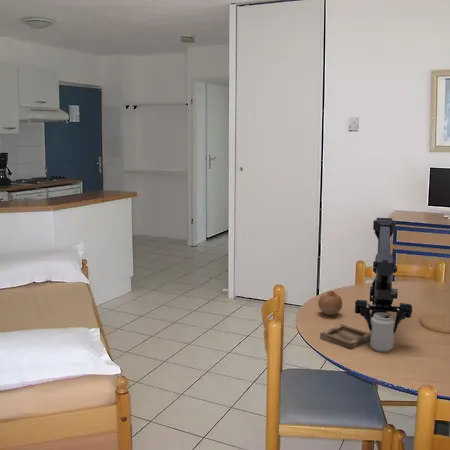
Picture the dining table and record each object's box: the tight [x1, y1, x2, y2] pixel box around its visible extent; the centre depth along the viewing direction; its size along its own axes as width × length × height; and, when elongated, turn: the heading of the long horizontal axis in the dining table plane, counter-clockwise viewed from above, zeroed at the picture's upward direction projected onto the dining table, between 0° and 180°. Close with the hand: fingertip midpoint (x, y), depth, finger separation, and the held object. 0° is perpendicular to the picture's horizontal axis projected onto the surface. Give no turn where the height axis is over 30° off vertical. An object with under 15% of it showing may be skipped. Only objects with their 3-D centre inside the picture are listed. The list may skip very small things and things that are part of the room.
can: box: [369, 312, 395, 353], centre depth 185 cm, size 8×8×12 cm
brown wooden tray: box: [319, 323, 371, 350], centre depth 194 cm, size 13×13×2 cm
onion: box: [317, 290, 343, 316], centre depth 217 cm, size 10×9×10 cm
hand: (382, 331), depth 183 cm, fingers closed on can, 7 cm apart
